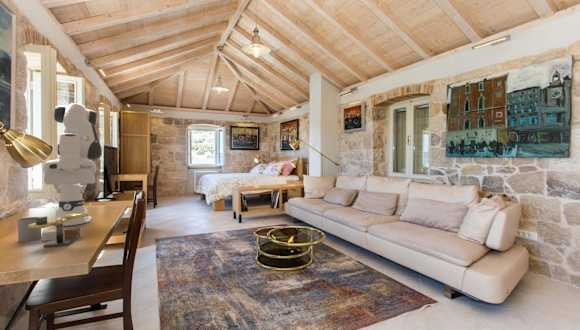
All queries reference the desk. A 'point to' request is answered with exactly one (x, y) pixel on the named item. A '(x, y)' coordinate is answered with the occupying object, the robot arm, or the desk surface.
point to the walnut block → (72, 232)
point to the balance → (57, 229)
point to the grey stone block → (48, 235)
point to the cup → (28, 230)
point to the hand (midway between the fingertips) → (70, 193)
